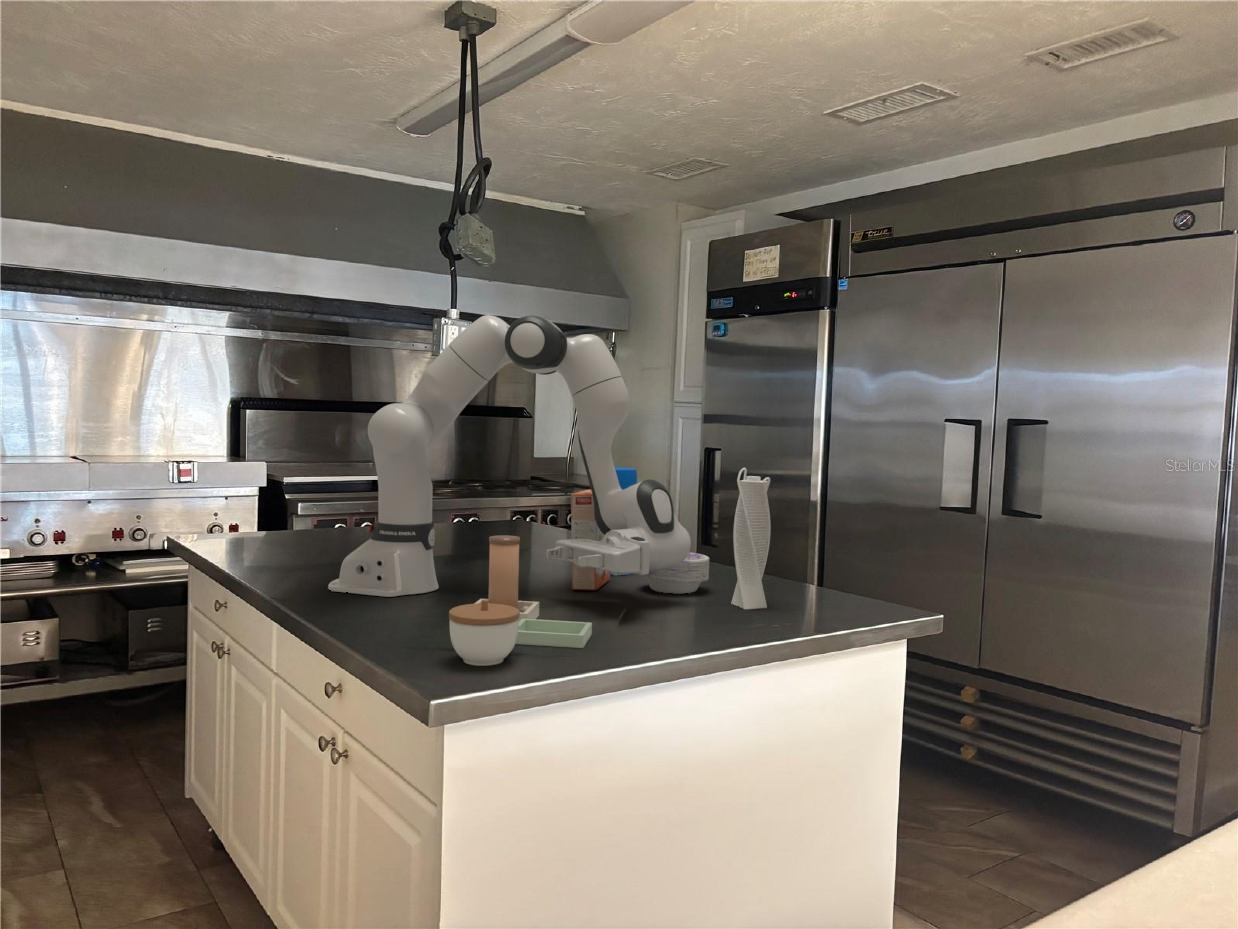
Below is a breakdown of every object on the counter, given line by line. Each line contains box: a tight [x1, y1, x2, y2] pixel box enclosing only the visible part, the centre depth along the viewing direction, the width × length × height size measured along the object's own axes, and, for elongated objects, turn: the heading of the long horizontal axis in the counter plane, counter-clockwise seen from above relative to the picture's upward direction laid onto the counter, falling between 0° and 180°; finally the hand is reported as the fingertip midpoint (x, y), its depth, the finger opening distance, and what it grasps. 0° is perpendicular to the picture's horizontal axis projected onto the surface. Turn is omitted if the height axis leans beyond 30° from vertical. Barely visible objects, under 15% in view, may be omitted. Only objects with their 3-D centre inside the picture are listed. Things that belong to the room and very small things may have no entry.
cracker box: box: [570, 489, 611, 591], centre depth 200 cm, size 14×6×21 cm, turn 168°
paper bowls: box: [639, 551, 710, 595], centre depth 198 cm, size 15×15×8 cm
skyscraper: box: [731, 467, 772, 610], centre depth 184 cm, size 8×7×28 cm
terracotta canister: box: [488, 534, 521, 609], centre depth 161 cm, size 5×5×15 cm
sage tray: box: [515, 618, 593, 649], centre depth 149 cm, size 12×9×3 cm
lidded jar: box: [448, 598, 520, 667], centre depth 139 cm, size 11×11×9 cm
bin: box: [473, 598, 540, 621], centre depth 162 cm, size 22×10×4 cm, turn 83°
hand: (562, 558), depth 168 cm, fingers open, 8 cm apart
